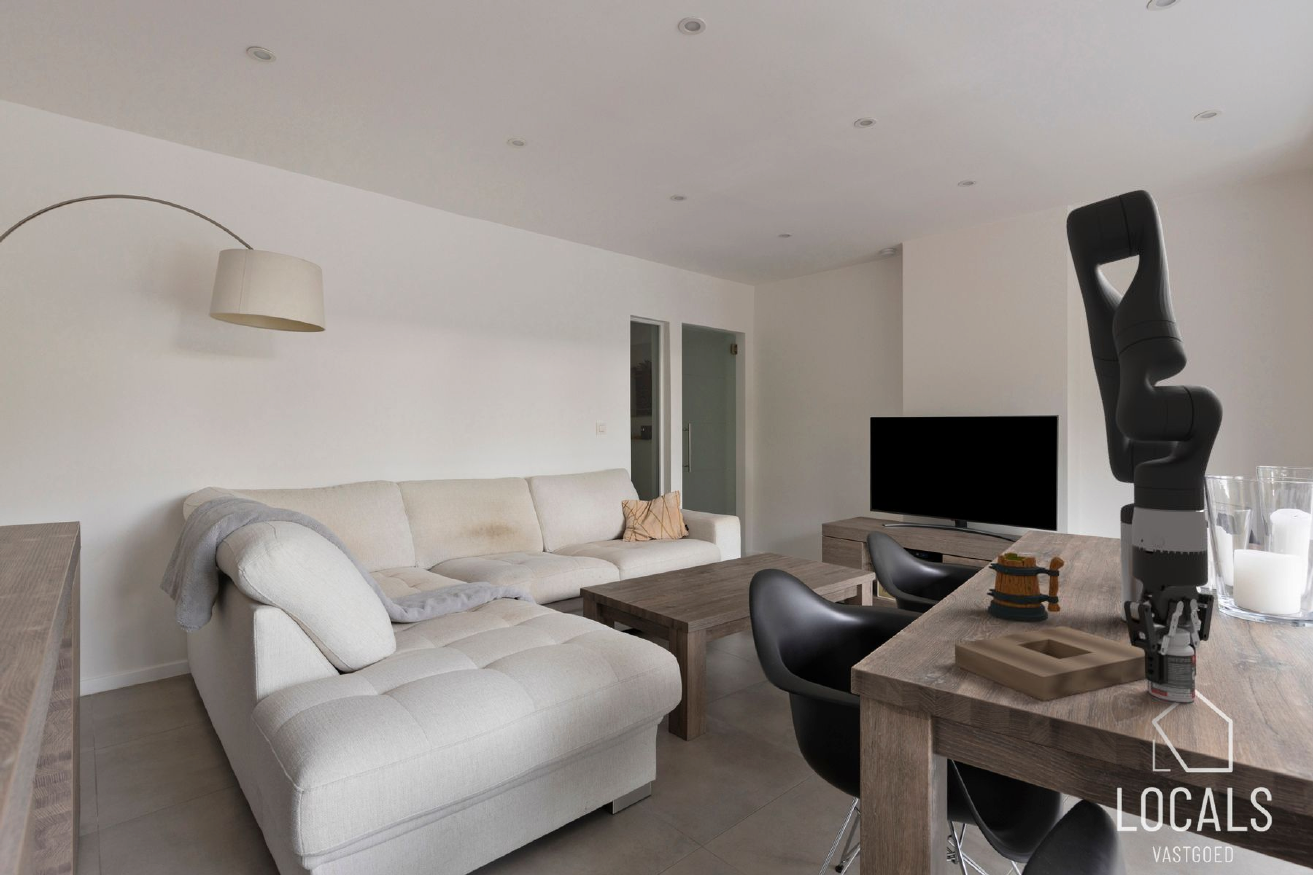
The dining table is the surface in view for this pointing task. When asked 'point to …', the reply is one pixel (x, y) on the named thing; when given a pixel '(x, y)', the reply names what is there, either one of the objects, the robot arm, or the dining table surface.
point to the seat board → (1052, 661)
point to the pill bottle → (1177, 670)
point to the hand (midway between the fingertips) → (1170, 678)
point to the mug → (1023, 589)
